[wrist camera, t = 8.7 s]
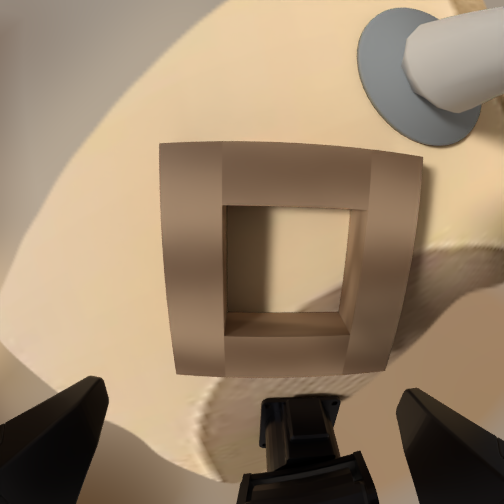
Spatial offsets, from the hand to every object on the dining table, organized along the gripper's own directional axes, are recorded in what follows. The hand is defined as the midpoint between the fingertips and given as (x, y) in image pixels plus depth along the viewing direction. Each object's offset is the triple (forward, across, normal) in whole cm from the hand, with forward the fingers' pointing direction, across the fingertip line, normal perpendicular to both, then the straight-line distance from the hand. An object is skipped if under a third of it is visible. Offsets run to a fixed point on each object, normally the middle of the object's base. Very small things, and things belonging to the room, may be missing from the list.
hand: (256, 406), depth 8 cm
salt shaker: (+12, -10, -14) cm, 21 cm away
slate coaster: (+12, -11, -14) cm, 21 cm away
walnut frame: (+12, -2, 0) cm, 12 cm away
